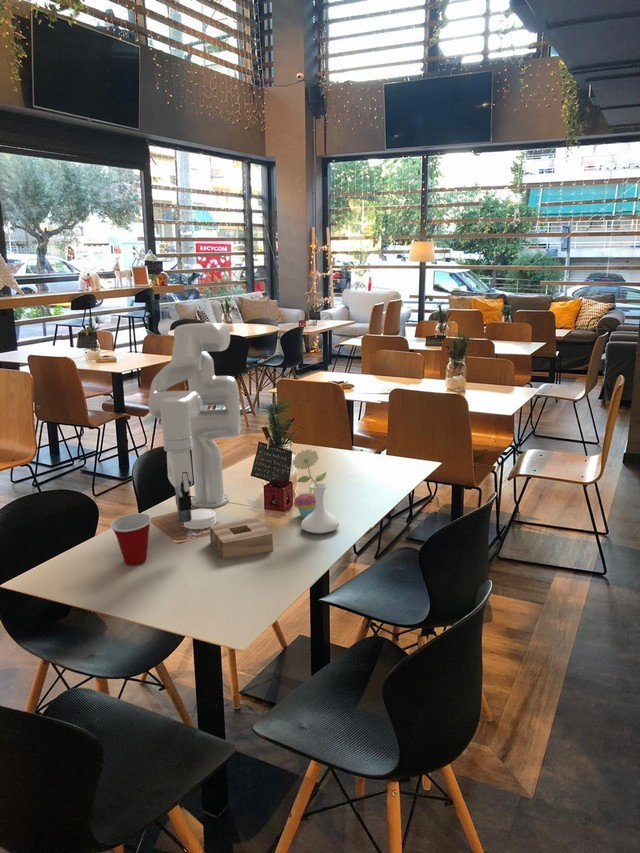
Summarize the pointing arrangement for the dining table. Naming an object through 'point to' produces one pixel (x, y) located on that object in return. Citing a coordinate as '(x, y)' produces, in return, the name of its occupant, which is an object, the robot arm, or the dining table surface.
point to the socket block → (241, 538)
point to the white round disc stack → (201, 519)
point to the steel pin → (183, 515)
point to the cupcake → (305, 503)
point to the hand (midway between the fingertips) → (183, 506)
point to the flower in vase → (319, 517)
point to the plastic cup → (132, 537)
